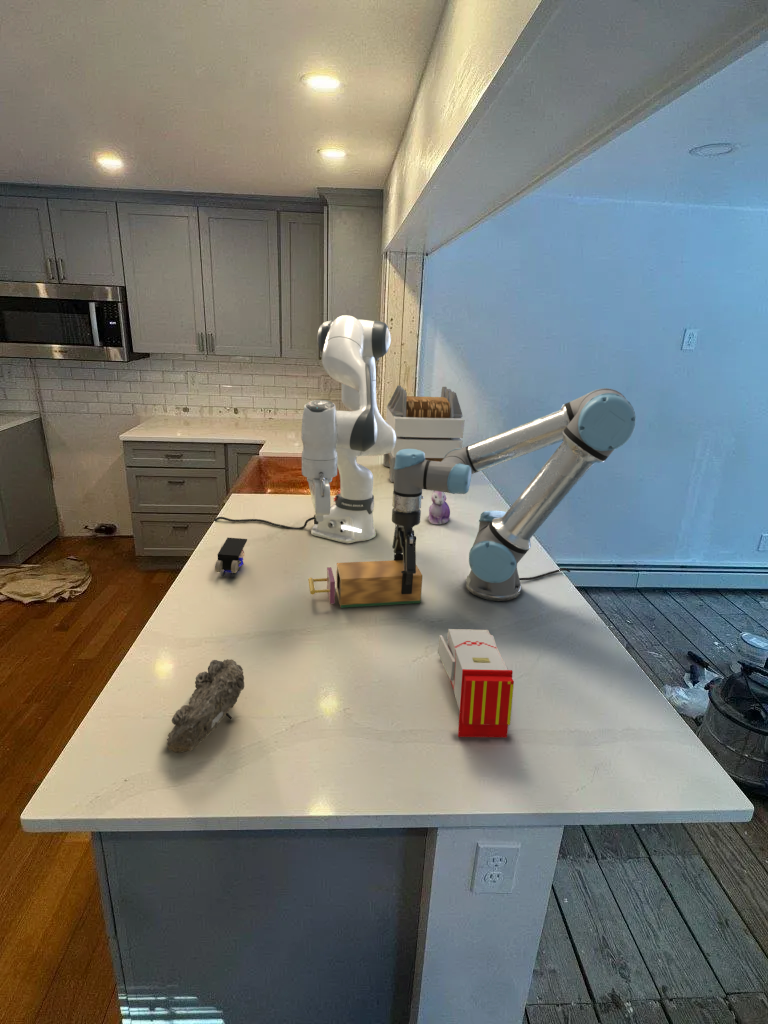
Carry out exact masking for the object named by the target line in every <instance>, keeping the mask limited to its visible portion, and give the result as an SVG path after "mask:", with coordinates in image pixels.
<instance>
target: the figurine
mask: <svg viewBox="0 0 768 1024" xmlns="http://www.w3.org/2000/svg"><path fill="white" fill-rule="evenodd" d="M445 493H446V492H440V491H432V494H431V498H430V499H431V502H432V503H431V505H429V507H428V517H427V518H428V519H427V520H428V521H429V523H430V524H433V525H442V524H447V523H448V522H449V520H450V516H451V509H450V506H449V504H448V503H447V496H446V494H445Z"/></svg>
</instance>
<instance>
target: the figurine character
mask: <svg viewBox="0 0 768 1024" xmlns="http://www.w3.org/2000/svg"><path fill="white" fill-rule="evenodd" d="M247 542H248V538H240V537H226V539H225V541H224V543H223V544H222V546H221V547H220V549H219V551H218V552H217V560H216V562H215V564H214V572H215V573H221V577H222V578H224V577H225V576H226V574H227V573H230V574H231V573H232V574H231V578H234V577H235V575H236V573H237V572H239V571H240V567H242V566H243V565H244V564H245V562H244V558H245V551H244V547H245V546H246V544H247Z"/></svg>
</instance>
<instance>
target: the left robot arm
mask: <svg viewBox="0 0 768 1024" xmlns="http://www.w3.org/2000/svg"><path fill="white" fill-rule="evenodd" d="M389 329H390V328H389V326H388V324H386V322H384V321H381V320H376V319H375V320H369V319H359V318H356V317H355V316H352V315H349V314H348V315H347V314H344V315H339V316H338V317H336V318H335V319H332V320H327V321H324V322H322V323H321V324H320V325H319V328H318V331H317V336H316V337H317V344H318V349H319V351H320V352H321V364H322V368H323V370H324V371H325V373H326V374H327V375H328V376H329V377H330V378H331V379H332V380H333V381H335V382H337V383H340V384H341V403H342V405H343V406H344V408H345V409H347V410H338V409H337V408H336V404H335V403H334V402H333V401H331V400H327V399H314V400H310V401H308V402H306V403H305V404H304V407H303V411H302V418H301V435H300V436H301V437H300V438H301V442H302V451H301V475H302V476H303V477H305V478H306V482H307V483H308V488H309V491H310V492H309V493H310V496H311V501H312V505H313V509H314V515H313V516H312V517H309V518H307V519H306V520H305V522H304V523H303V526H299V527H292V526H288V525H284V524H280V523H275V522H272V521H269V520H265V519H260V518H259V519H258V518H245V519H233V518H232V519H231V518H228V517H225V516H218V517H215V518H214V519H213V520H212V521H213V522H217V521H218V520H224V521H227V522H232V523H244V522H260V523H264V524H268V525H271V526H274V527H278V528H284V529H287V530H289V529H290V530H303V529H305V528H306V527H307V526H308V525H307V524H308V523H309V522H311V521H313V526H312V528H311V530H310V533H311V536H315V537H319V538H323V539H326V540H330V541H336V542H339V543H343V544H352V543H357V542H365V541H368V540H372V539H373V538H375V537H376V535H377V532H376V528H375V523H374V513H373V512H374V509H375V496H374V474H373V472H372V471H371V469H369V468H368V467H366V466H364V465H362V464H359V463H358V462H357V458H358V457H378V456H382V455H383V456H384V454H387V453H391V452H392V450H393V449H394V447H395V445H396V433H395V431H394V429H393V428H392V427H391V426H390V425H389V424H388V423H387V422H386V419H384V417H383V416H382V415H381V413H380V410H379V408H378V403H377V367H376V362H377V361H379V359H380V358H383V357H384V356H385V355H386V354H387V353H388V351H389V349H390V348H389V347H390V346H391V342H392V341H391V340H392V336H391V332H390V330H389ZM338 474H339V483H340V484H339V485H340V488H339V489H340V490H339V491H338V492H337V494H336V495H335V496H334V497H333V502H334V504H333V505H331V485H330V484H331V483H332V481H333V478H335V477H337V476H338Z"/></svg>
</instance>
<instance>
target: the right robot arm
mask: <svg viewBox="0 0 768 1024" xmlns="http://www.w3.org/2000/svg"><path fill="white" fill-rule="evenodd" d="M636 417H637V416H636V412H635V409H634V406H633V405H632V404H631V402H630V401H629V400H628V399H627V398H626V397H625V396H624V394H623V393H621V392H620V391H618V390H616V389H614V388H609V387H608V388H607V387H605V388H604V387H603V388H598V389H594V390H592V391H590V392H588V393H586V394H584V395H582V396H579V397H578V398H575V399H574V400H571V401H569V402H566V403H564V404H562V406H561V408H560V409H559V410H556V411H554V412H551V413H549V414H546V415H544V416H541V417H539V418H537V419H534V420H531V421H528V422H526V423H523V424H520V425H518V426H516V427H513V428H511V429H507V430H506V431H503V432H499V433H497V434H494V435H493V436H490V437H487V438H485V439H482V440H480V441H477V442H474V443H472V444H468V445H467V446H464V447H462V448H461V449H454V450H452V451H450V452H448V453H447V454H446V455H445V457H444V459H443V460H442V461H441V462H439V461H430V460H425V454H424V452H423V451H421V450H417V449H402V450H399V451H398V452H397V453H396V458H395V467H394V482H393V491H392V501H391V503H392V505H391V506H392V510H391V522H392V523H393V524H394V525H395V526H394V534H393V541H392V550H393V553H394V555H393V560H403V565H404V571H401V573H402V590H401V594H412V583H413V574H415V573H416V565H417V557H416V556H417V554H416V553H417V551H416V550H417V548H416V546H417V545H416V544H417V536H416V535H415V530H414V529H413V528H414V527H416V526H418V525H419V524H420V523H421V514H422V510H421V508H422V500H424V496H423V490H426V491H432V492H434V491H440V492H444V493H448V494H452V495H457V494H458V495H466V494H467V493H468V492H469V490H470V486H471V481H472V475H474V474H476V473H478V472H481V471H484V470H486V469H490V468H493V467H495V466H498V465H500V464H503V463H506V462H509V461H511V460H514V459H517V458H520V457H523V456H525V455H529V454H531V453H533V452H536V451H539V450H541V449H545V448H548V447H550V446H553V445H555V444H558V443H560V445H559V446H558V447H557V448H556V449H555V451H554V452H553V453H552V454H551V456H550V457H549V458H548V460H547V461H546V462H545V463H544V464H543V466H542V467H541V468H540V470H539V471H538V472H537V473H536V475H534V477H533V479H532V480H531V481H530V482H529V483H528V485H527V486H526V487H525V488H524V490H523V491H522V492H521V493H520V494H519V496H518V497H517V499H516V500H515V501H514V502H513V504H512V505H511V506H510V507H509V508H508V509H507V510H506V511H503V510H502V511H501V510H485V511H483V512H482V513H480V516H479V519H478V523H479V525H478V532H477V534H476V537H475V539H474V542H473V544H472V547H471V548H470V550H469V553H468V565H469V567H470V572H469V574H468V575H467V576H466V578H465V581H466V584H465V585H466V589H467V590H468V591H469V592H470V593H471V594H472V595H474V596H476V597H477V598H481V599H484V600H487V601H493V602H505V601H506V602H507V601H511V600H514V599H516V598H517V597H519V596H520V594H521V590H522V589H521V588H522V585H521V581H531V580H537V579H540V578H543V577H546V576H549V575H552V574H557V573H559V572H563V571H565V572H567V573H571V570H570V569H569V568H567V567H562V568H559V570H560V571H559V570H558V569H556V570H552V571H549V572H546V573H542V574H539V575H535V576H530V577H520V576H519V570H518V563H519V562H520V561H521V560H522V559H523V557H524V556H525V555H526V554H527V553H528V552H529V551H530V550H531V547H532V543H531V538H532V537H533V536H534V535H535V533H537V531H538V530H539V529H540V527H541V526H543V524H544V523H545V522H546V521H547V519H548V518H549V517H550V516H551V514H552V513H554V511H555V510H556V509H557V507H559V505H560V504H561V503H562V502H563V501H564V499H565V498H566V497H567V496H568V494H569V493H570V492H571V491H572V490H573V489H574V488H575V487H576V485H577V484H578V482H580V481H581V479H582V478H583V477H584V476H585V475H586V473H587V472H588V471H589V470H590V469H591V467H593V465H594V464H599V463H604V462H606V460H607V459H608V458H609V457H610V456H611V454H612V453H614V451H615V450H616V449H619V448H620V447H622V446H624V445H625V444H626V443H627V442H628V441H629V440H630V439H631V437H632V436H633V433H634V431H635V429H636V423H637V419H636Z"/></svg>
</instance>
